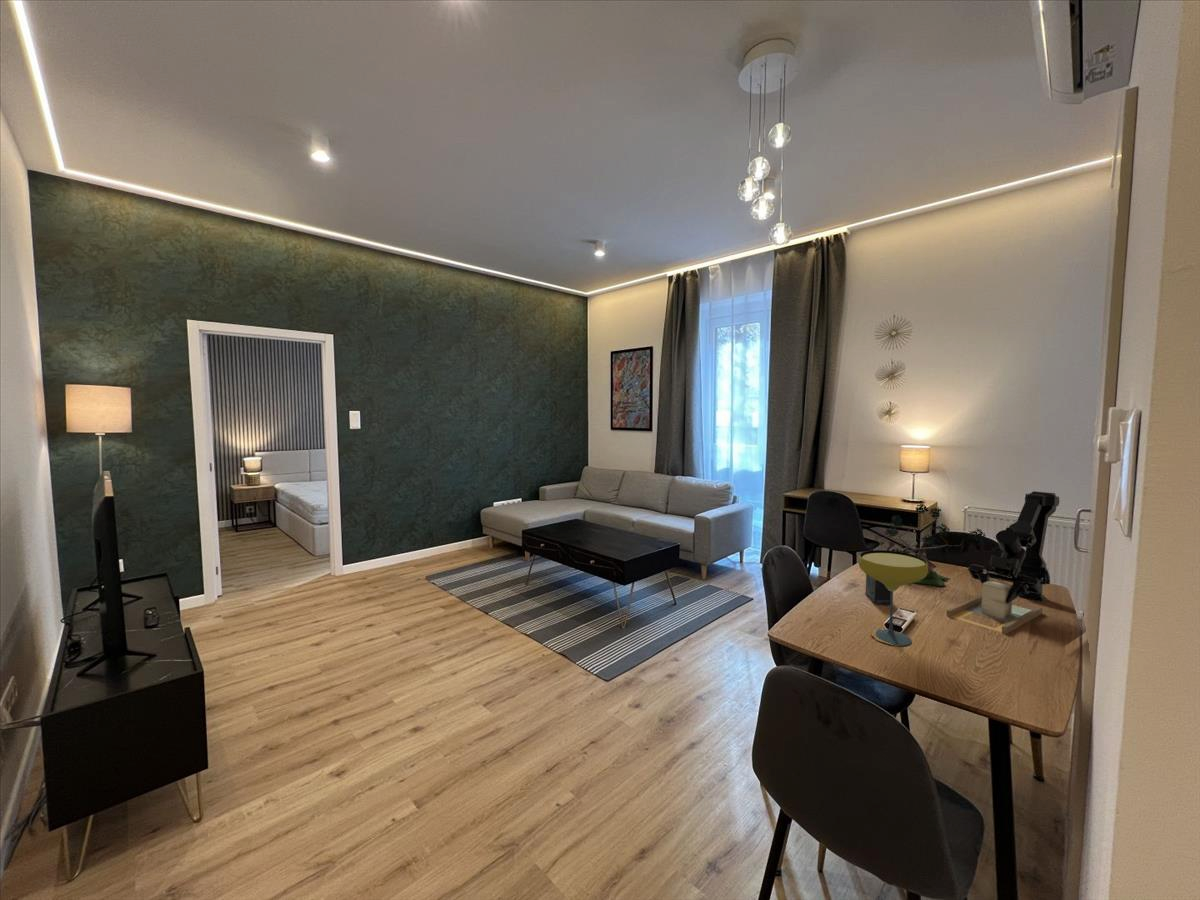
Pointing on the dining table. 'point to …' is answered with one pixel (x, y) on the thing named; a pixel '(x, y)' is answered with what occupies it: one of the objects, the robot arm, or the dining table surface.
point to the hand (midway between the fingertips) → (994, 599)
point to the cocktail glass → (893, 580)
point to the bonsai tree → (931, 574)
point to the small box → (877, 591)
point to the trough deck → (1011, 622)
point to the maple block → (996, 599)
